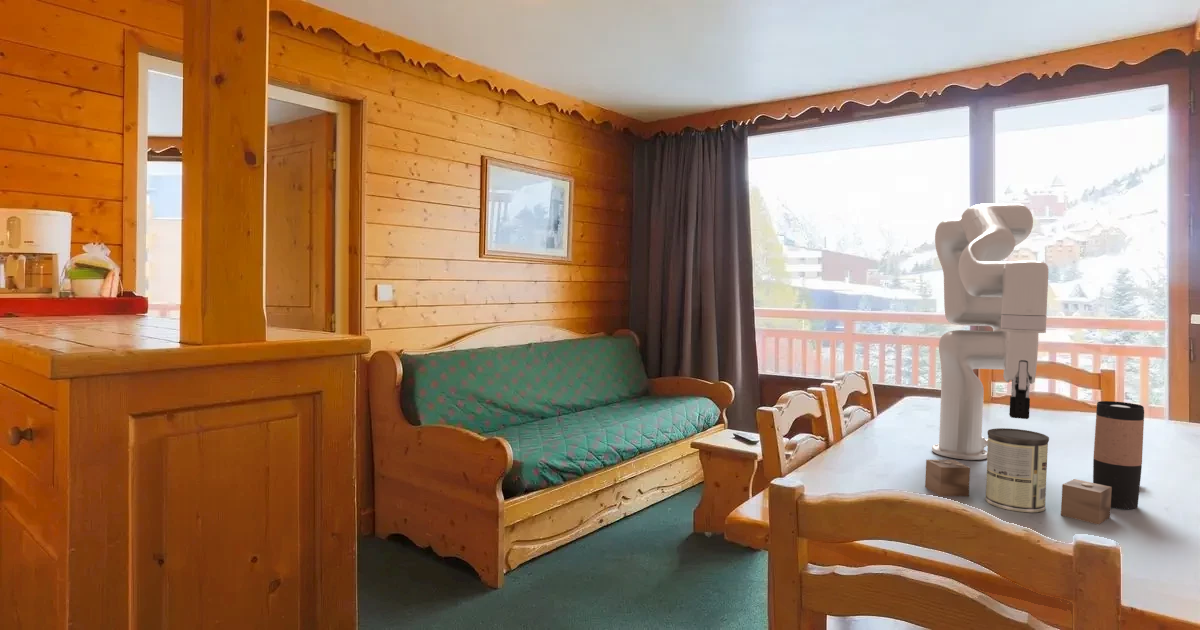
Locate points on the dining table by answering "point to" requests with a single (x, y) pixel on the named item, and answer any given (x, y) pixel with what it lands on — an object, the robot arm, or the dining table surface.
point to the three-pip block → (947, 477)
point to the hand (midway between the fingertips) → (1019, 417)
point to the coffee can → (1016, 469)
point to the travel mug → (1119, 451)
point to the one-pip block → (1086, 501)
